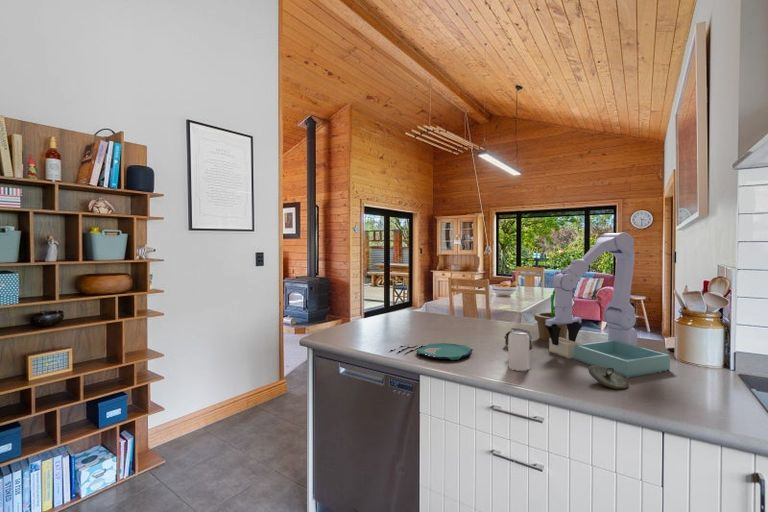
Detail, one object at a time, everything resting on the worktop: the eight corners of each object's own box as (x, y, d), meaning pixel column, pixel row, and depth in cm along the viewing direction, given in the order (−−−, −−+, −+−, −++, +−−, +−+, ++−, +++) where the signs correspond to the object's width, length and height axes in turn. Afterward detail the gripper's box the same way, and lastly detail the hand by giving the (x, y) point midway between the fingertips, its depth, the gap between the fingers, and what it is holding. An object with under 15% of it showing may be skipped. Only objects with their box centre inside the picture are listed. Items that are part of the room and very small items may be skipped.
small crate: (560, 350, 145) (560, 337, 145) (579, 357, 137) (579, 343, 137) (549, 351, 144) (549, 338, 144) (567, 358, 135) (567, 344, 135)
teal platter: (459, 366, 130) (459, 359, 130) (385, 354, 146) (385, 348, 146) (479, 352, 146) (479, 346, 146) (411, 343, 163) (411, 337, 163)
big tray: (613, 353, 140) (613, 340, 140) (669, 370, 121) (669, 355, 121) (574, 359, 134) (574, 345, 134) (626, 378, 115) (626, 361, 115)
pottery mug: (533, 352, 145) (522, 334, 145) (510, 360, 150) (500, 342, 149) (535, 337, 156) (524, 320, 155) (513, 344, 160) (503, 328, 160)
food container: (535, 366, 128) (535, 336, 128) (515, 365, 129) (515, 335, 129) (528, 355, 140) (528, 328, 140) (511, 354, 141) (511, 327, 141)
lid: (600, 375, 118) (600, 359, 118) (635, 385, 110) (635, 367, 110) (581, 382, 112) (581, 365, 112) (616, 393, 104) (616, 375, 104)
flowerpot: (577, 343, 155) (577, 269, 154) (542, 343, 155) (541, 269, 154) (561, 334, 169) (561, 266, 168) (529, 335, 169) (528, 267, 168)
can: (519, 373, 121) (519, 335, 121) (504, 367, 127) (503, 331, 127) (533, 369, 124) (533, 332, 124) (518, 364, 130) (518, 329, 130)
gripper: (571, 303, 146) (570, 339, 146) (539, 306, 141) (539, 342, 142) (586, 306, 139) (585, 343, 139) (553, 309, 134) (553, 347, 135)
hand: (563, 343), depth 140 cm, fingers open, 7 cm apart
